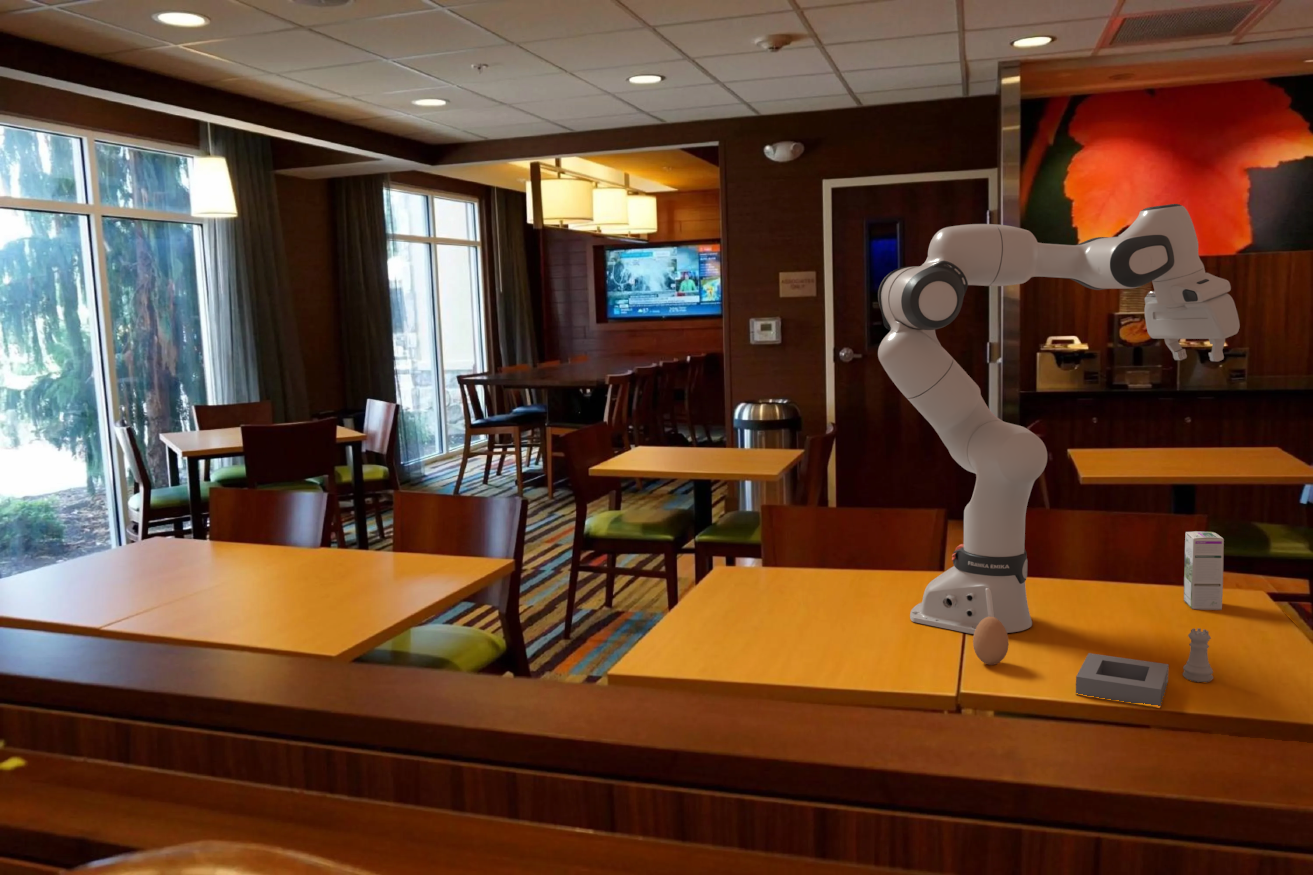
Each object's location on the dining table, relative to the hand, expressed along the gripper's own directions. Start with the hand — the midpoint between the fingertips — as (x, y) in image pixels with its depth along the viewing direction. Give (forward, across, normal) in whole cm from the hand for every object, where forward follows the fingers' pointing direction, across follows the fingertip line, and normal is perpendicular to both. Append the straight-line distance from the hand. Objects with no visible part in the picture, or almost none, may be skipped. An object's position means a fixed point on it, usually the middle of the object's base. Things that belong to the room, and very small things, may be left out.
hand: (1198, 359), depth 194 cm
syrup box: (+49, -5, -8) cm, 50 cm away
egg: (+33, +12, -62) cm, 72 cm away
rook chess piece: (+42, +27, -36) cm, 61 cm away
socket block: (+37, +28, -49) cm, 68 cm away
